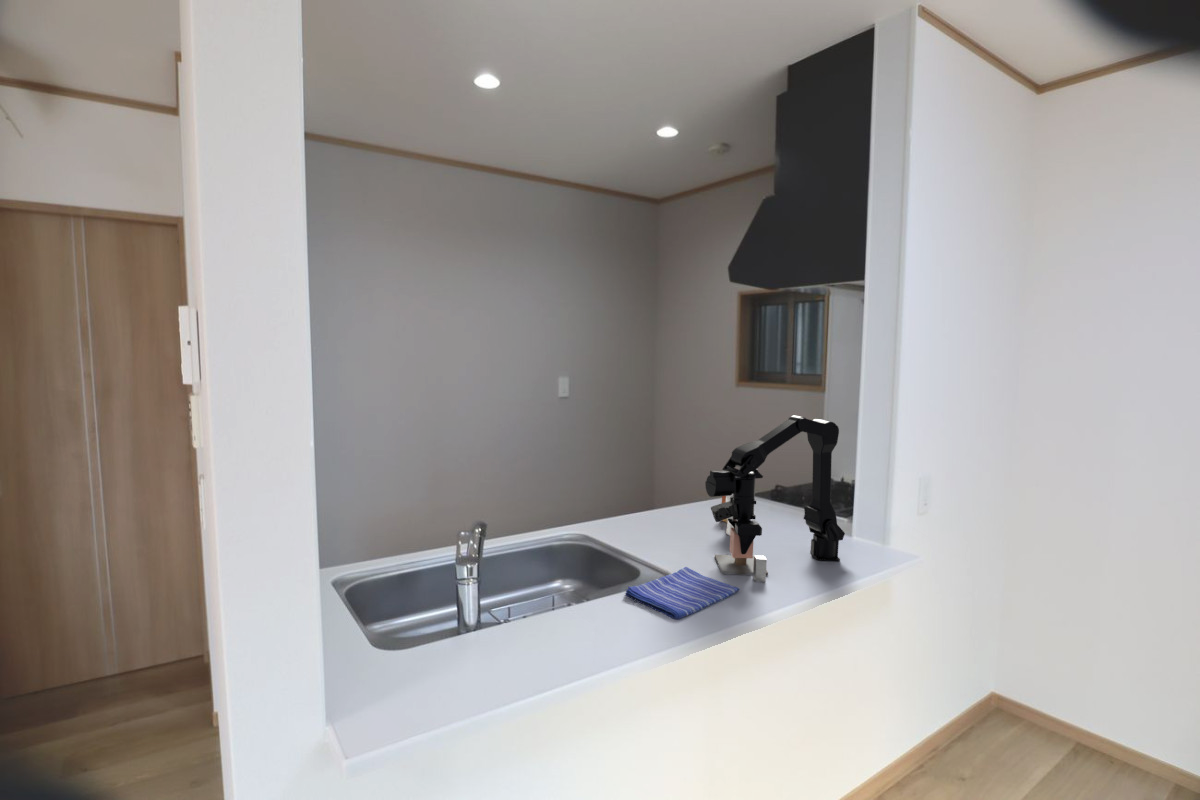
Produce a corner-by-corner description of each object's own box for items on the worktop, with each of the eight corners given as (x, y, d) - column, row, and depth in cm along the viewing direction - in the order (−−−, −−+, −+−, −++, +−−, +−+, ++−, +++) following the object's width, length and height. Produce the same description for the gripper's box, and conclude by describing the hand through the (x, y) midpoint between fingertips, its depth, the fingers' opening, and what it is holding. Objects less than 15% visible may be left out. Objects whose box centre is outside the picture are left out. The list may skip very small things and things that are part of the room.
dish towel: (622, 598, 140) (622, 586, 140) (685, 573, 156) (685, 562, 156) (677, 624, 128) (677, 611, 127) (739, 594, 144) (740, 583, 143)
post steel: (763, 577, 153) (764, 555, 152) (765, 582, 150) (766, 559, 149) (752, 577, 153) (754, 555, 152) (755, 581, 150) (756, 559, 149)
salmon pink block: (748, 551, 163) (749, 528, 162) (752, 558, 157) (753, 534, 157) (729, 550, 163) (730, 527, 162) (733, 557, 158) (734, 533, 157)
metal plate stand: (757, 558, 166) (758, 537, 166) (767, 575, 154) (769, 552, 154) (714, 557, 166) (715, 535, 166) (722, 574, 155) (723, 550, 154)
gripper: (708, 485, 168) (706, 538, 169) (719, 503, 149) (717, 562, 151) (747, 486, 168) (745, 539, 169) (763, 504, 149) (760, 563, 151)
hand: (741, 550), depth 160 cm, fingers closed on salmon pink block, 5 cm apart
